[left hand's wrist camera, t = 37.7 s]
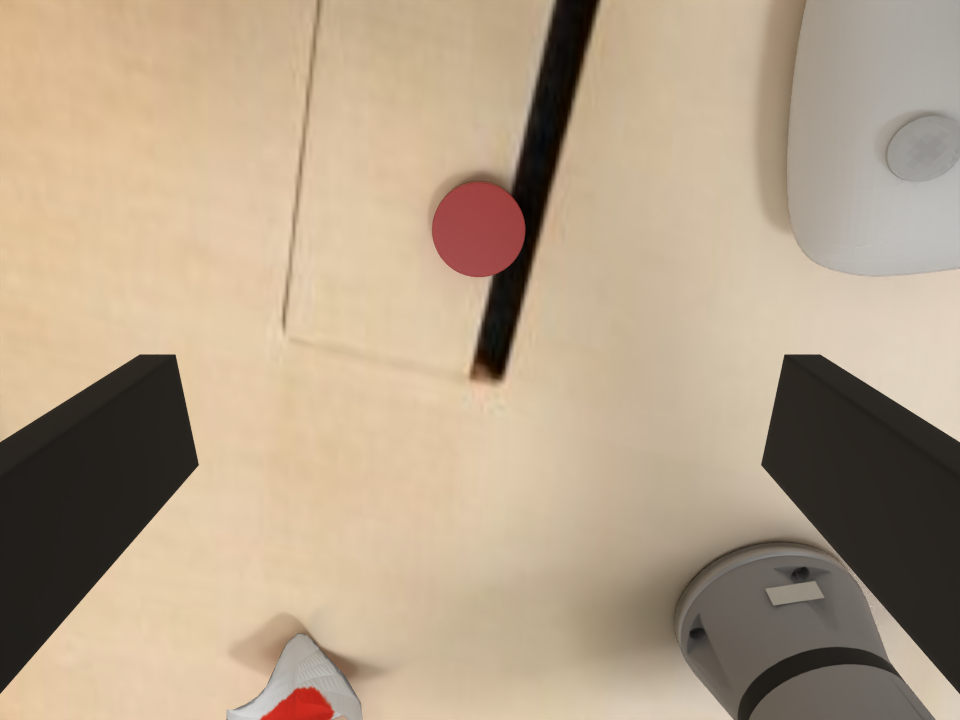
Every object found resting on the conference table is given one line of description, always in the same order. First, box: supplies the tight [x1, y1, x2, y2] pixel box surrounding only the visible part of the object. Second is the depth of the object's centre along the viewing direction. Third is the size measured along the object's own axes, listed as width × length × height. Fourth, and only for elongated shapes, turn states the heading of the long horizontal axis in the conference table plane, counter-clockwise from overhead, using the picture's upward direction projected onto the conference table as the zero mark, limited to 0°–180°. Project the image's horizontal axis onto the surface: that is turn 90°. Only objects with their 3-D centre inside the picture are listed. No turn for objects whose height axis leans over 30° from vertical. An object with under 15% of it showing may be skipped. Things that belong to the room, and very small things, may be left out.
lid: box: [432, 181, 525, 277], centre depth 36 cm, size 6×6×2 cm
